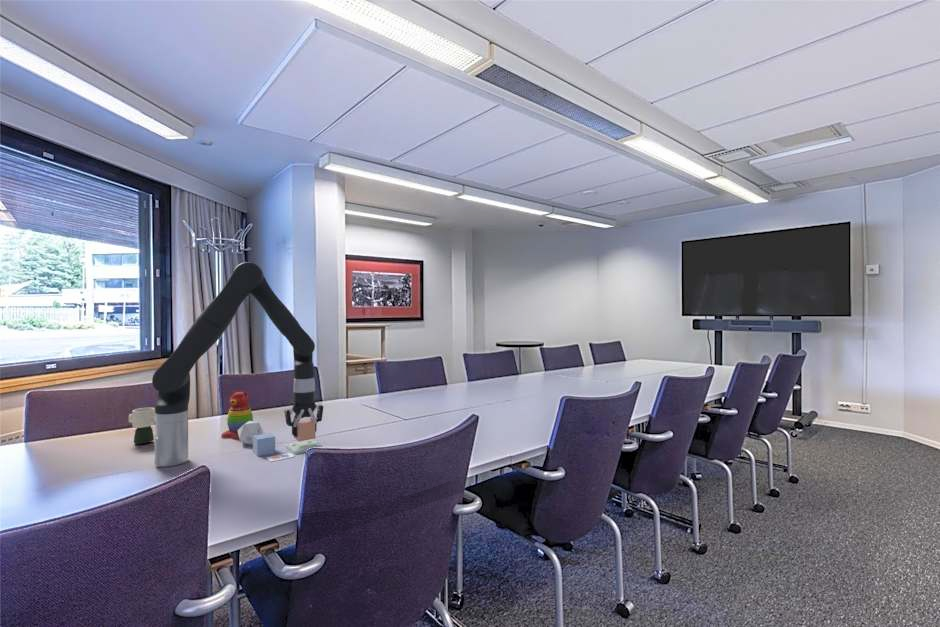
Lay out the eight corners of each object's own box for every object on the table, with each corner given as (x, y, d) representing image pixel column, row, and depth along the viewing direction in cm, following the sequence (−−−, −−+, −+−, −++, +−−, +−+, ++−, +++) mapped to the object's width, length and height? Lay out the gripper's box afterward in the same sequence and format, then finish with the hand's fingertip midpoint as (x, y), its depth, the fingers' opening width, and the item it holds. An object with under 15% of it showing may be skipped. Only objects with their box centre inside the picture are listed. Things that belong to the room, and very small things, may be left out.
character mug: (164, 440, 175) (164, 407, 175) (152, 445, 168) (152, 411, 168) (135, 440, 174) (135, 407, 174) (122, 446, 167) (122, 411, 167)
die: (238, 449, 166) (255, 428, 166) (228, 434, 170) (244, 413, 171) (256, 451, 173) (272, 431, 173) (246, 436, 178) (262, 416, 178)
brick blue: (257, 456, 157) (257, 439, 157) (252, 452, 161) (252, 435, 161) (275, 453, 161) (275, 436, 160) (270, 448, 165) (270, 432, 165)
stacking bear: (218, 437, 179) (218, 393, 179) (238, 430, 189) (238, 389, 188) (240, 440, 176) (240, 395, 176) (259, 433, 185) (259, 390, 185)
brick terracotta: (298, 441, 162) (298, 425, 162) (293, 437, 166) (293, 421, 166) (315, 438, 166) (315, 422, 166) (309, 434, 170) (309, 419, 170)
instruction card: (270, 461, 151) (270, 461, 151) (266, 457, 155) (266, 457, 155) (294, 457, 156) (294, 456, 156) (290, 453, 160) (290, 452, 160)
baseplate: (294, 454, 159) (294, 450, 159) (286, 447, 167) (286, 444, 167) (322, 448, 165) (322, 445, 165) (312, 442, 173) (312, 439, 173)
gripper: (287, 393, 158) (287, 440, 159) (326, 389, 167) (327, 433, 168) (281, 390, 164) (281, 436, 164) (319, 386, 173) (319, 429, 174)
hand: (304, 434), depth 166 cm, fingers closed on brick terracotta, 6 cm apart
